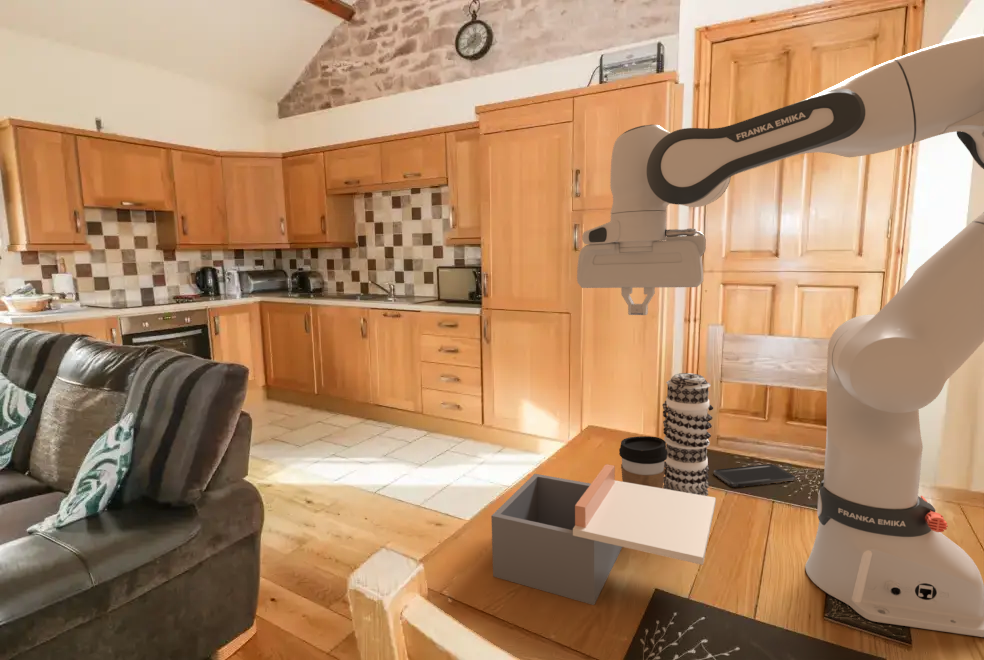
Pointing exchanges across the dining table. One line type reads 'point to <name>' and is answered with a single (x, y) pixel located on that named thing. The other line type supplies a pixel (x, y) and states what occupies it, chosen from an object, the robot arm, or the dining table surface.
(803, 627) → the dining table surface
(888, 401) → the robot arm
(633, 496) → the lid
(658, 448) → the coffee cup
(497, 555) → the storage box
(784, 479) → the phone
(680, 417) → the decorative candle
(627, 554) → the dining table surface
